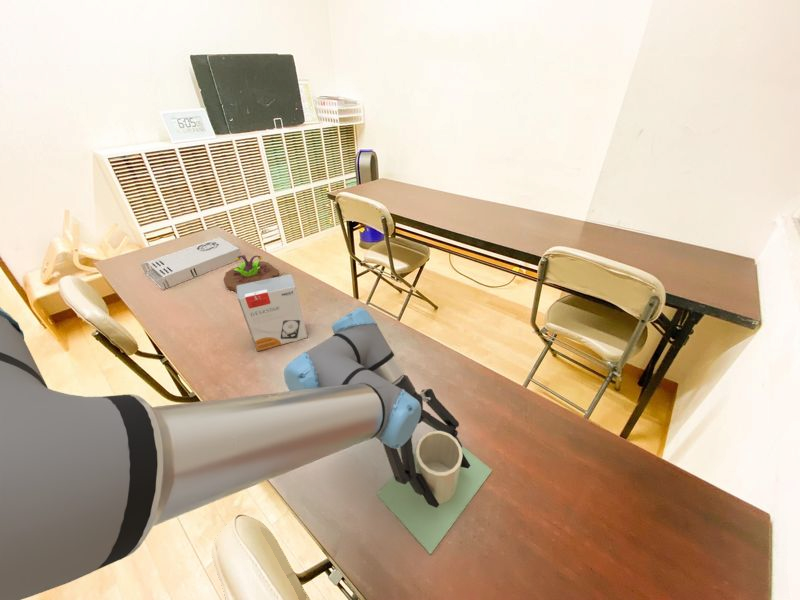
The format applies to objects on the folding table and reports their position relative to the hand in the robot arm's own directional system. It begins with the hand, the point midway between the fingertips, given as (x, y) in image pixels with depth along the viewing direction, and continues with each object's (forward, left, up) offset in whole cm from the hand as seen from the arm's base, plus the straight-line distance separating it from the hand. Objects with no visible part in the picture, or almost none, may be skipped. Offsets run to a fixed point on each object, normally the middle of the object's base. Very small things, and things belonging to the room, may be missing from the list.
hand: (450, 484), depth 61 cm
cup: (0, +3, -4) cm, 5 cm away
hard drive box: (0, +66, -4) cm, 66 cm away
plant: (+9, +107, -4) cm, 108 cm away
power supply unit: (-3, +135, -4) cm, 135 cm away
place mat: (0, +3, -4) cm, 5 cm away
